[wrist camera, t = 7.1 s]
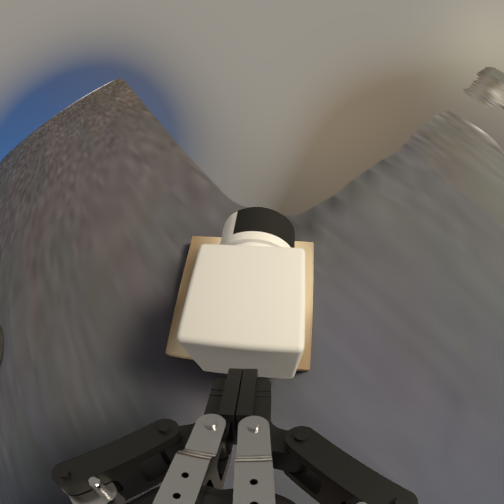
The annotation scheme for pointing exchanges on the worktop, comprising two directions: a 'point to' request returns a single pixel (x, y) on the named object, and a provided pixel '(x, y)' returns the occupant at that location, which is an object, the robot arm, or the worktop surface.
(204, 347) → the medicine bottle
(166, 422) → the robot arm
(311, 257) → the maple board
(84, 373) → the worktop surface
